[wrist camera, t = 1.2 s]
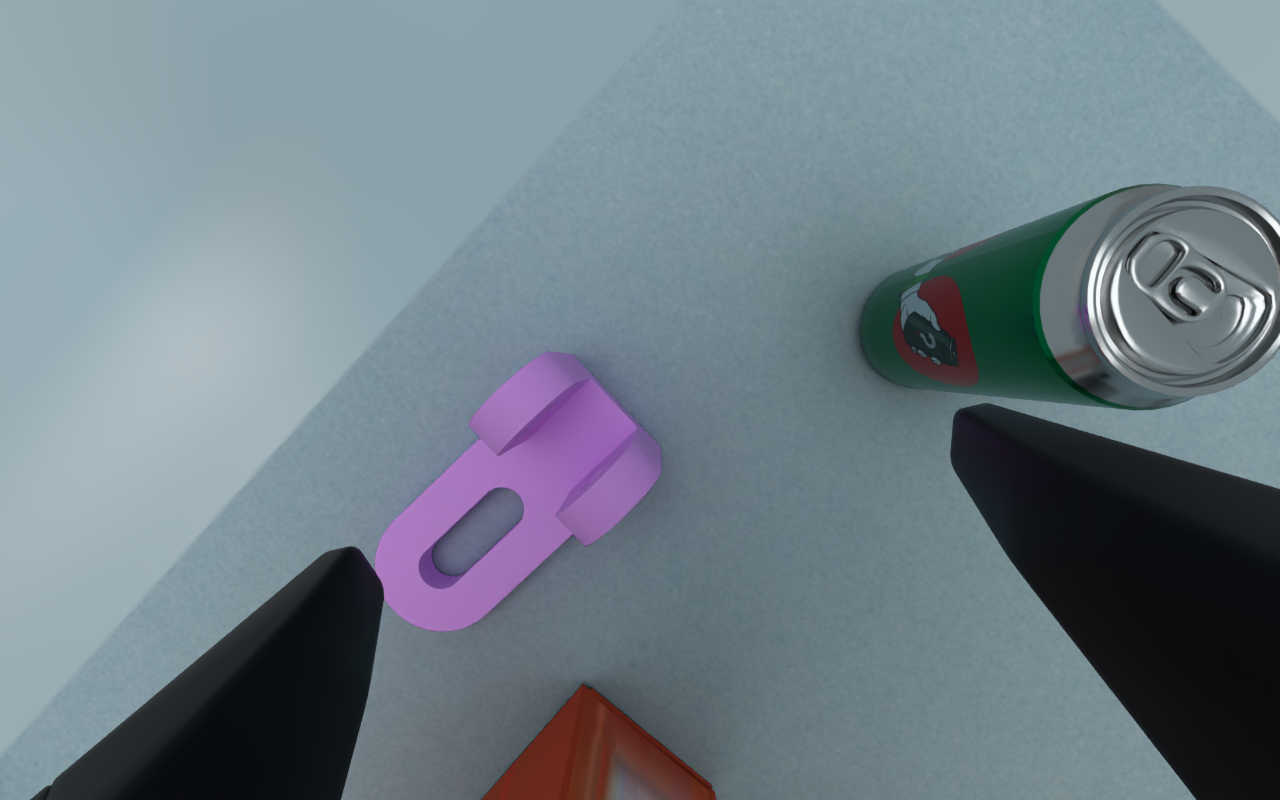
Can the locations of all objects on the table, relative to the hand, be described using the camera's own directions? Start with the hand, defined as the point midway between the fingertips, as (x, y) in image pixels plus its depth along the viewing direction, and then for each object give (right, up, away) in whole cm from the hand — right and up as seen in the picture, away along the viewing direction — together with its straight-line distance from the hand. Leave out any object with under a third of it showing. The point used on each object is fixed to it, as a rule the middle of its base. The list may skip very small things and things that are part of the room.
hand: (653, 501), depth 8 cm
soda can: (+12, +5, +15) cm, 20 cm away
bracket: (-6, -3, +16) cm, 18 cm away
